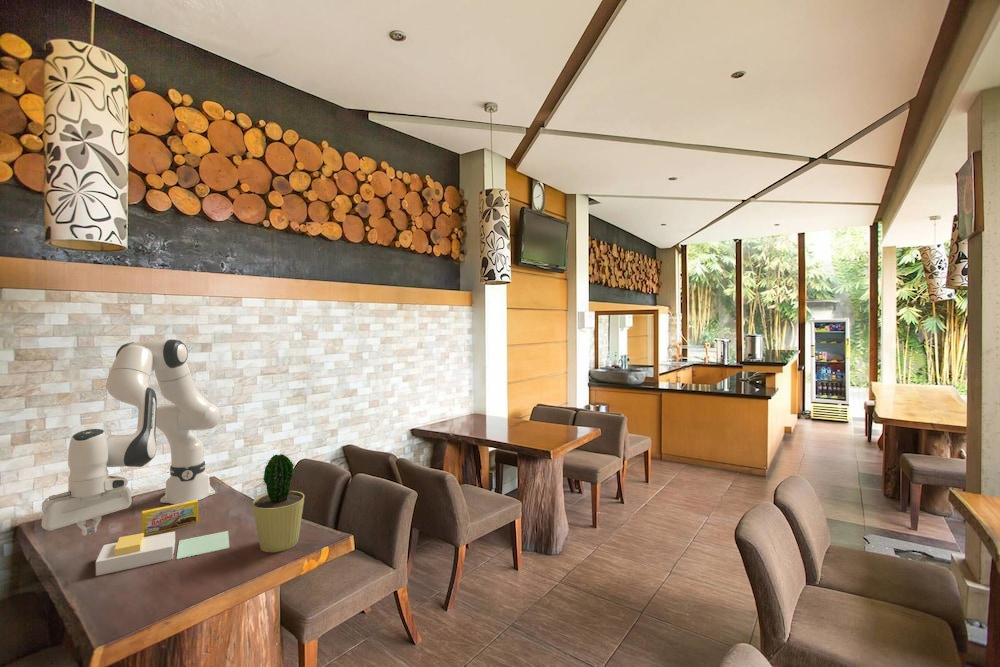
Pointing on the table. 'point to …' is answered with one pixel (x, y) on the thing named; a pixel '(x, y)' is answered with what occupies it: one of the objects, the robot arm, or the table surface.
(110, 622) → the table surface
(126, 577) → the table surface
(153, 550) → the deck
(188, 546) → the mat
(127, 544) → the block
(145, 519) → the candy box
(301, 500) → the potted cactus
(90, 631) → the table surface
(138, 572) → the table surface
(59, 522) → the robot arm
